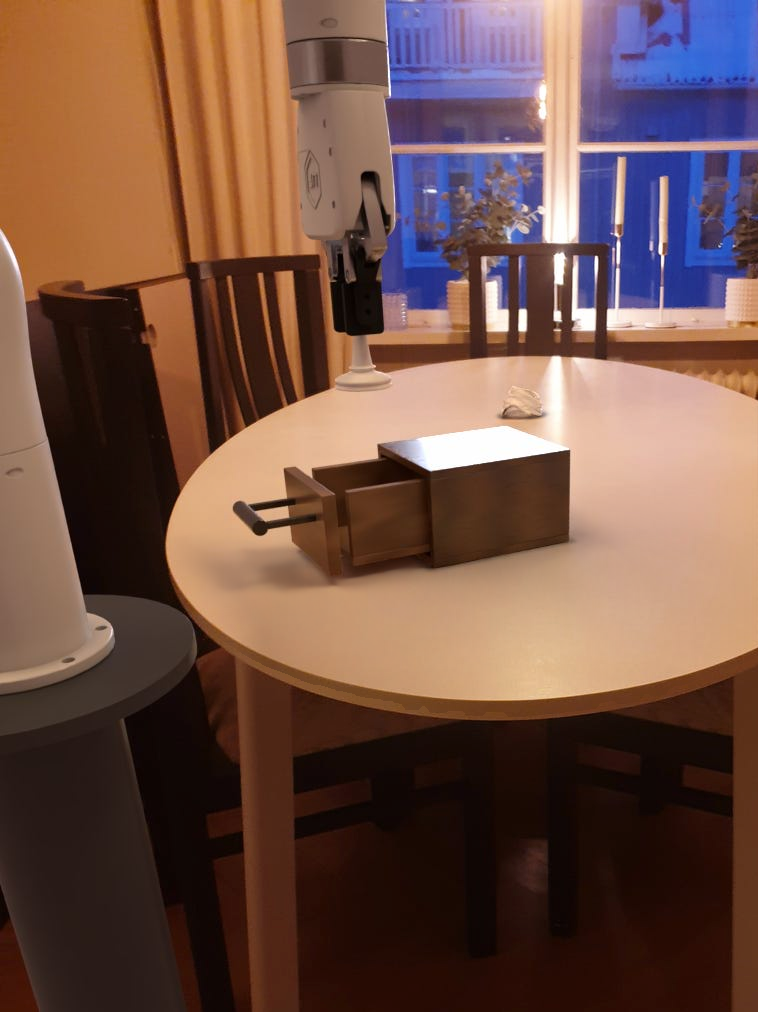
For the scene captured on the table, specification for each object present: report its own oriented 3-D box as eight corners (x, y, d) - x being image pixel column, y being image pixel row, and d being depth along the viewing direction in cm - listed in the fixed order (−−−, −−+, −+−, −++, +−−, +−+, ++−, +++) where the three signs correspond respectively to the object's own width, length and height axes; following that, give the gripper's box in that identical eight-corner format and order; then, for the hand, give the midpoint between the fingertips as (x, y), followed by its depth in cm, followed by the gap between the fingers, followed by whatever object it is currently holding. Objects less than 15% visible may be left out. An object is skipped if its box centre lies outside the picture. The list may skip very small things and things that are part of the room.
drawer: (266, 589, 79) (255, 507, 76) (233, 551, 89) (222, 476, 86) (467, 550, 87) (464, 473, 84) (418, 519, 97) (414, 449, 93)
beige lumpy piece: (504, 415, 152) (501, 385, 151) (545, 411, 151) (542, 380, 150) (499, 422, 145) (496, 390, 143) (542, 418, 144) (539, 385, 142)
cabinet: (434, 568, 86) (429, 471, 82) (383, 531, 96) (376, 443, 92) (569, 541, 92) (570, 449, 88) (507, 509, 102) (506, 425, 98)
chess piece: (386, 380, 82) (378, 257, 78) (398, 389, 78) (390, 260, 74) (330, 384, 81) (319, 260, 77) (339, 393, 77) (327, 262, 72)
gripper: (262, 87, 75) (288, 327, 82) (324, 58, 62) (348, 347, 69) (351, 90, 78) (367, 321, 85) (428, 62, 65) (439, 339, 72)
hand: (358, 331), depth 77 cm, fingers closed on chess piece
